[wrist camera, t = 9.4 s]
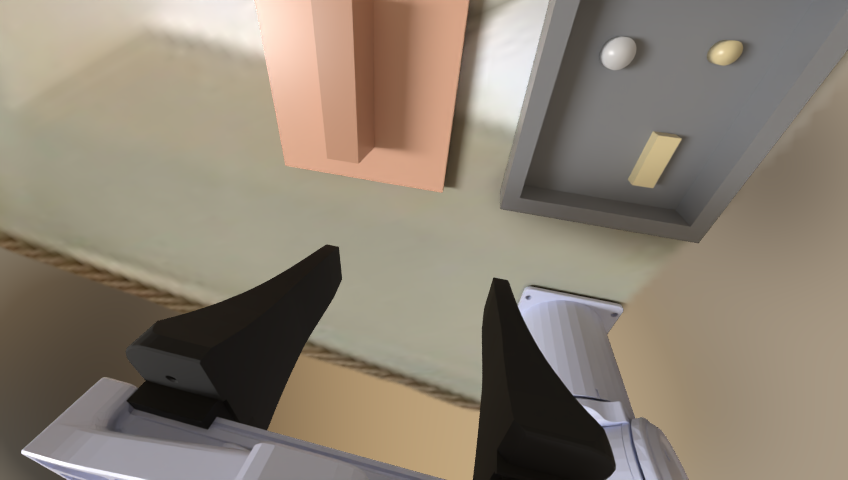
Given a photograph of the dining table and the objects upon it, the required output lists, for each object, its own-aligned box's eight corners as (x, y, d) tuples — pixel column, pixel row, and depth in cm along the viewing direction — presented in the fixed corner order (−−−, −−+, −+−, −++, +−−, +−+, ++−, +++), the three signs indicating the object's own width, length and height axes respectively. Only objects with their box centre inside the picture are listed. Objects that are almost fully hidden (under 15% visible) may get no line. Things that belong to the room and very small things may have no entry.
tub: (679, 221, 21) (698, 243, 19) (500, 191, 22) (500, 208, 20) (856, -37, 13) (921, -46, 11) (564, -58, 14) (574, -71, 12)
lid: (445, 184, 23) (435, 213, 20) (295, 158, 24) (261, 182, 21) (478, -54, 15) (472, -75, 12) (257, -72, 17) (192, -97, 13)
